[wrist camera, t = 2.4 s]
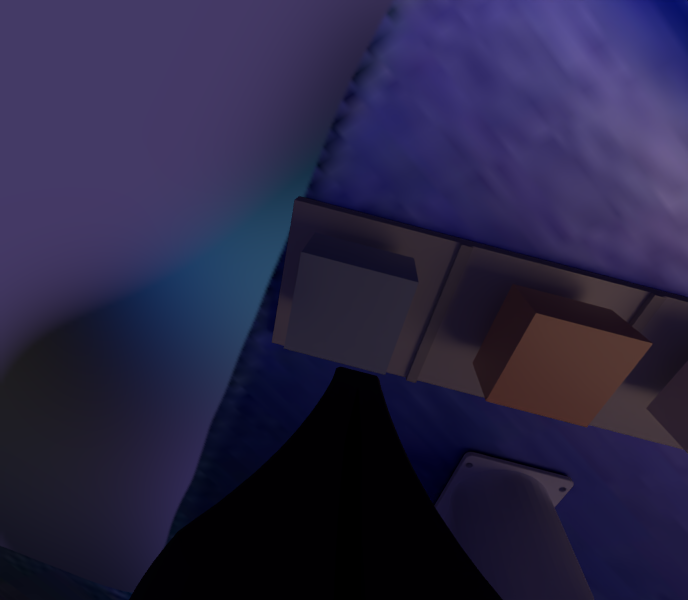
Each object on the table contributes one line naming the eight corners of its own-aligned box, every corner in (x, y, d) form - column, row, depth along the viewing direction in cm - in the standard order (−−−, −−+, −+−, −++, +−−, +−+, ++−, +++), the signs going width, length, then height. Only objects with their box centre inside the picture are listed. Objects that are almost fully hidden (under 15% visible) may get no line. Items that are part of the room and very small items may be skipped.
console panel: (691, 441, 23) (707, 458, 21) (276, 333, 22) (270, 344, 21) (806, 328, 18) (834, 341, 17) (299, 196, 18) (293, 200, 17)
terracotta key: (559, 385, 19) (586, 427, 17) (472, 363, 19) (485, 400, 17) (611, 309, 17) (653, 343, 14) (512, 283, 17) (535, 313, 14)
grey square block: (385, 340, 19) (384, 374, 16) (298, 317, 19) (283, 348, 16) (414, 258, 17) (418, 282, 14) (315, 232, 17) (301, 251, 14)
